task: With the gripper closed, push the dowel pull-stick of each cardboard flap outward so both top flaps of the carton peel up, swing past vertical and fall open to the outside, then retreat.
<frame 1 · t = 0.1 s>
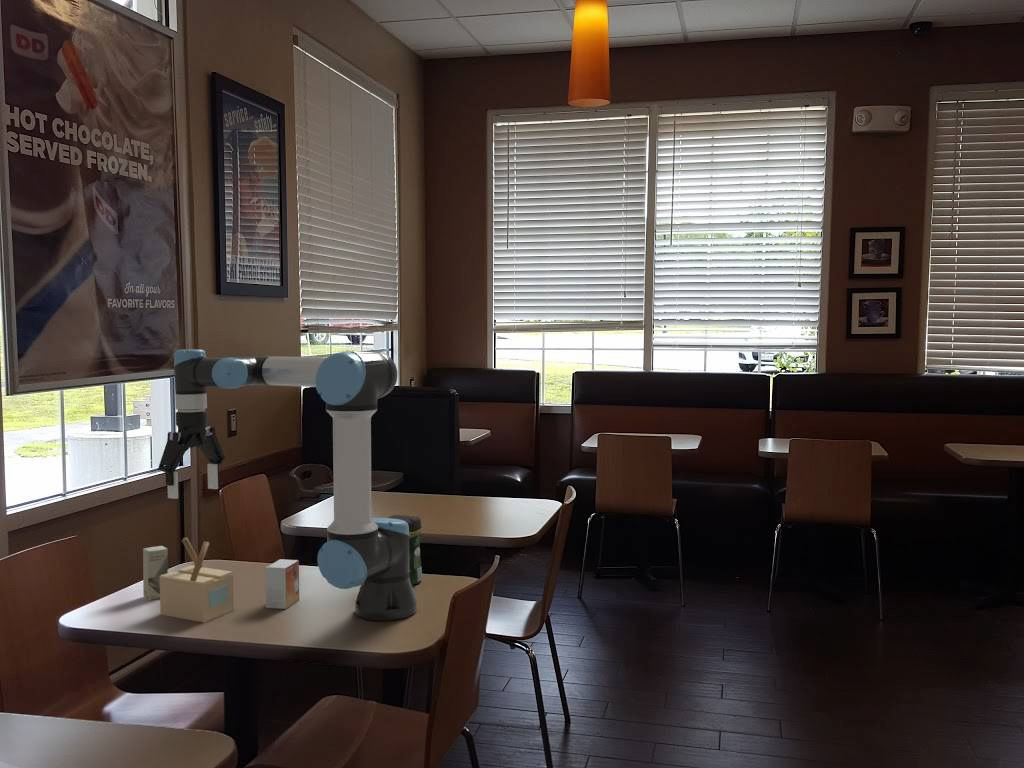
hand: (193, 493, 222), 28 cm above the table, fingers open, 13 cm apart
left flap: (188, 560, 212), point 14 cm above the table, hinge at -0.2°
small box: (283, 604, 222), on the table
box: (156, 597, 228), on the table
right flap: (202, 555, 216), point 14 cm above the table, hinge at -0.2°
coffee jar: (404, 582, 241), on the table
carton: (197, 612, 215), on the table
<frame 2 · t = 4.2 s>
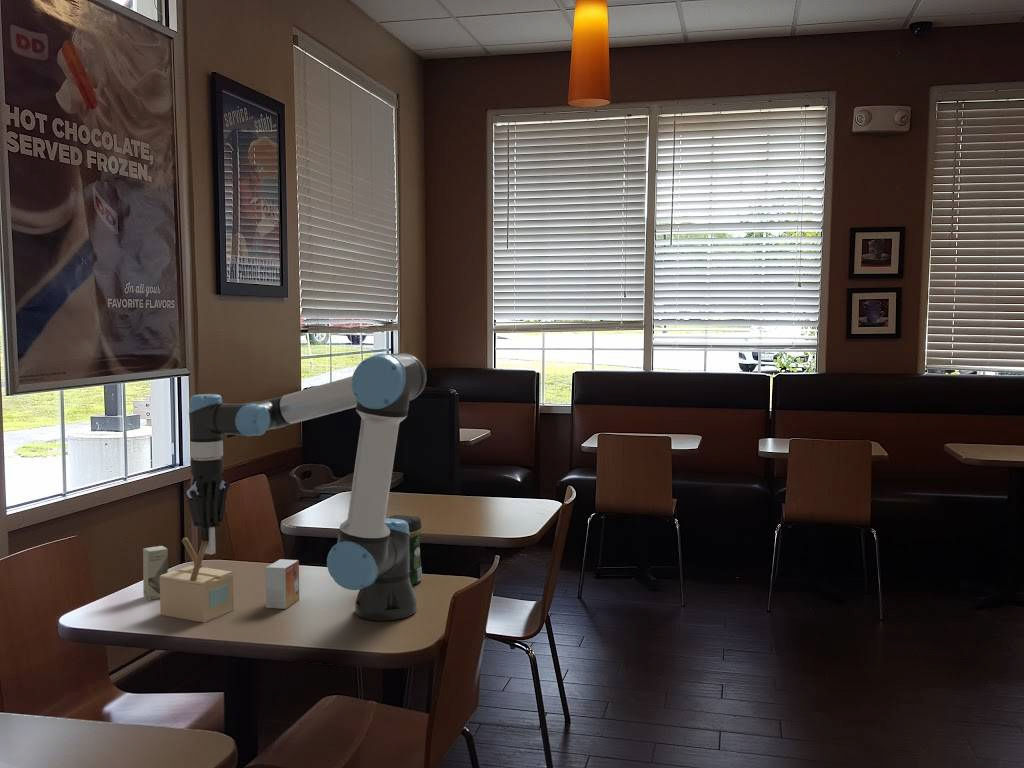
hand: (209, 553, 214), 15 cm above the table, fingers closed
left flap: (188, 559, 212), point 14 cm above the table, hinge at 3.0°, touching gripper
everything else where it was.
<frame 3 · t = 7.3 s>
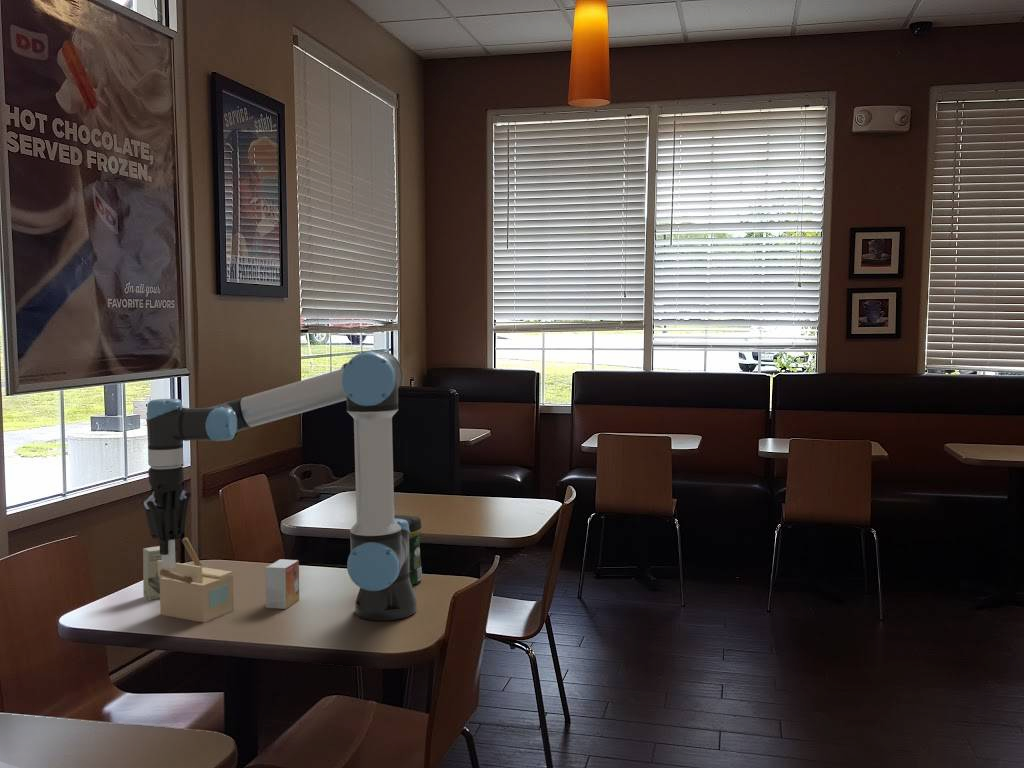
hand: (168, 567, 202), 15 cm above the table, fingers closed
left flap: (165, 574, 206), point 12 cm above the table, hinge at 93.2°
everything else where it was.
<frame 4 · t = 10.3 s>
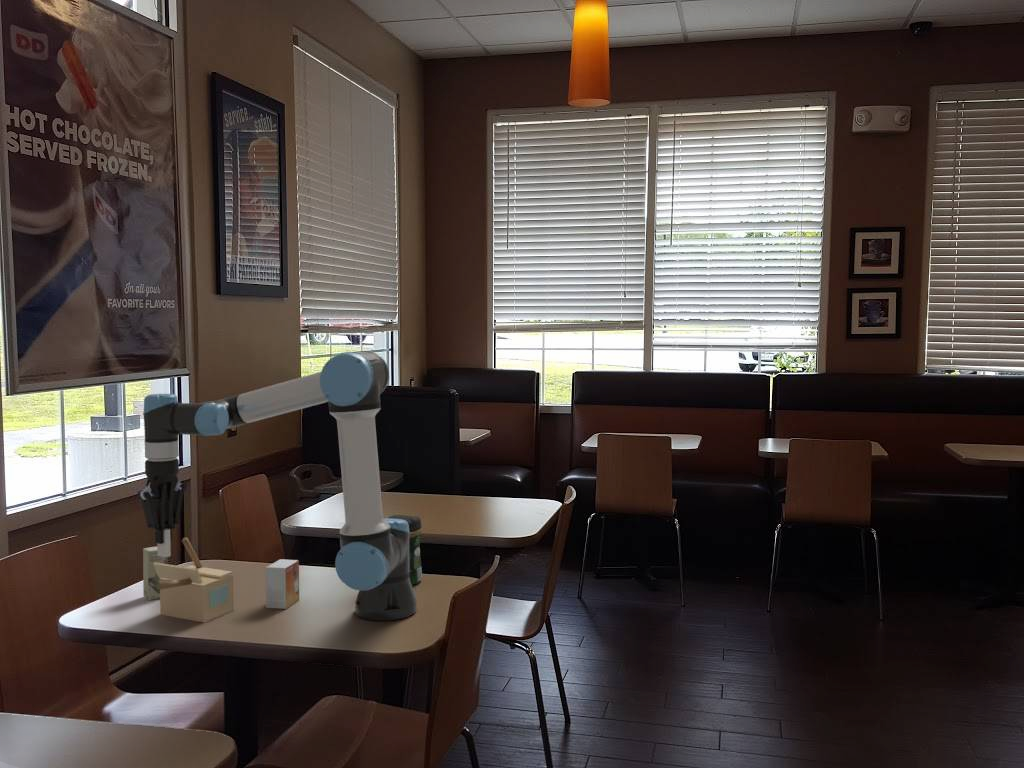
hand: (164, 555, 210), 15 cm above the table, fingers closed
left flap: (163, 581, 205), point 10 cm above the table, hinge at 112.0°
everything else where it was.
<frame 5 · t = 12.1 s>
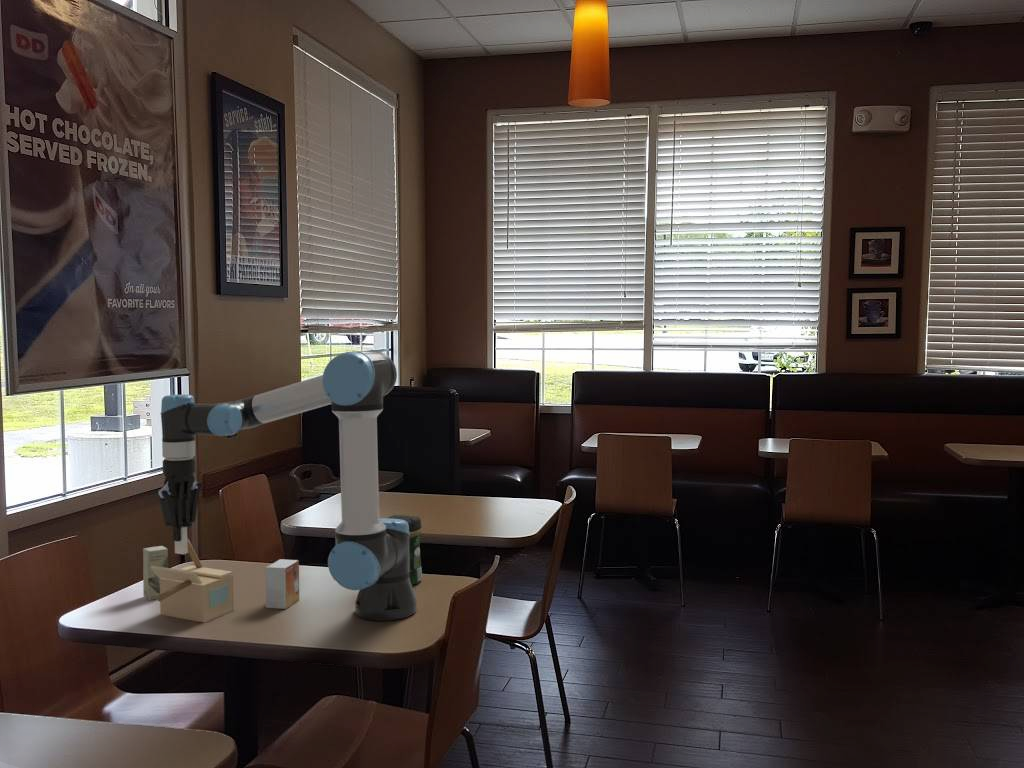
hand: (181, 553, 214), 15 cm above the table, fingers closed
left flap: (163, 587, 205), point 9 cm above the table, hinge at 127.7°
right flap: (203, 555, 216), point 14 cm above the table, hinge at 0.7°, touching gripper
everything else where it was.
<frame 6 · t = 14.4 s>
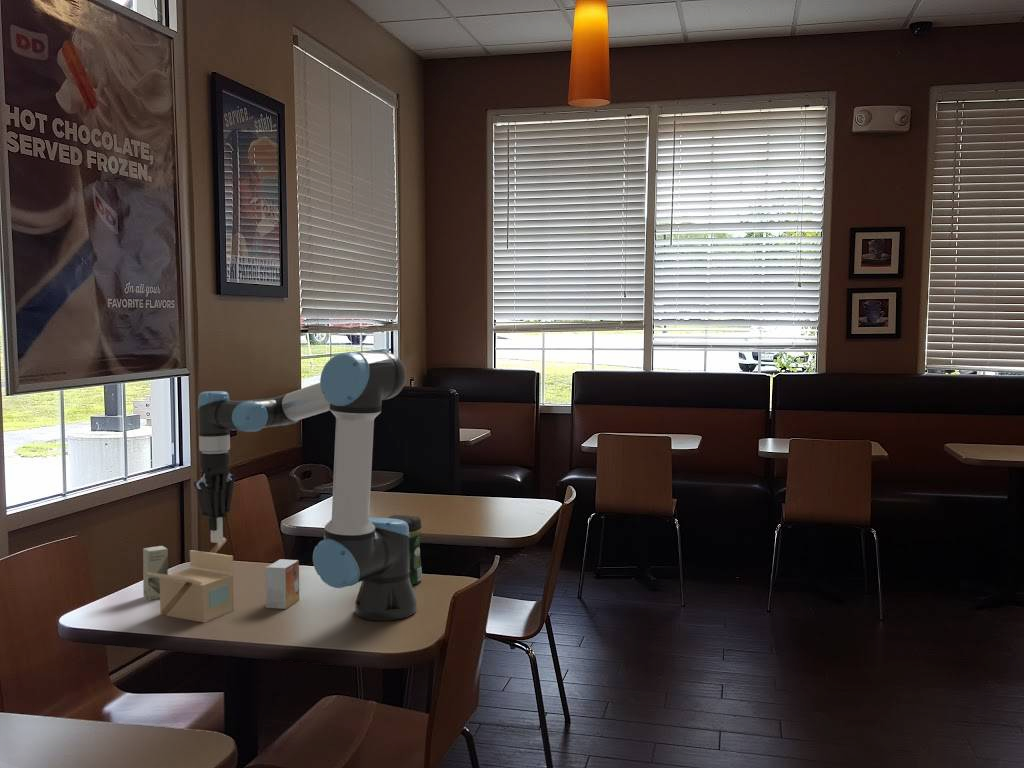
hand: (216, 541, 226), 15 cm above the table, fingers closed
left flap: (165, 595, 206), point 7 cm above the table, hinge at 151.2°
right flap: (223, 553, 223), point 12 cm above the table, hinge at 88.3°, touching gripper
everything else where it was.
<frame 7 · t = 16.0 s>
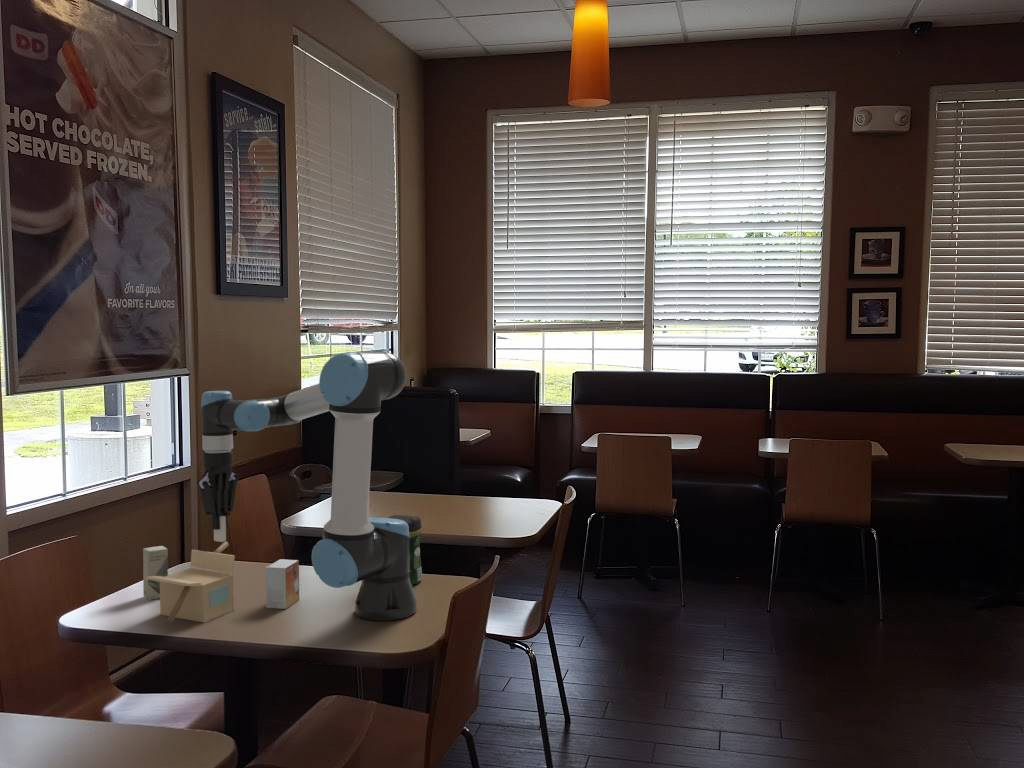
hand: (220, 540, 227), 15 cm above the table, fingers closed
left flap: (168, 599, 207), point 6 cm above the table, hinge at 167.8°
right flap: (224, 556, 223), point 12 cm above the table, hinge at 97.3°
everything else where it was.
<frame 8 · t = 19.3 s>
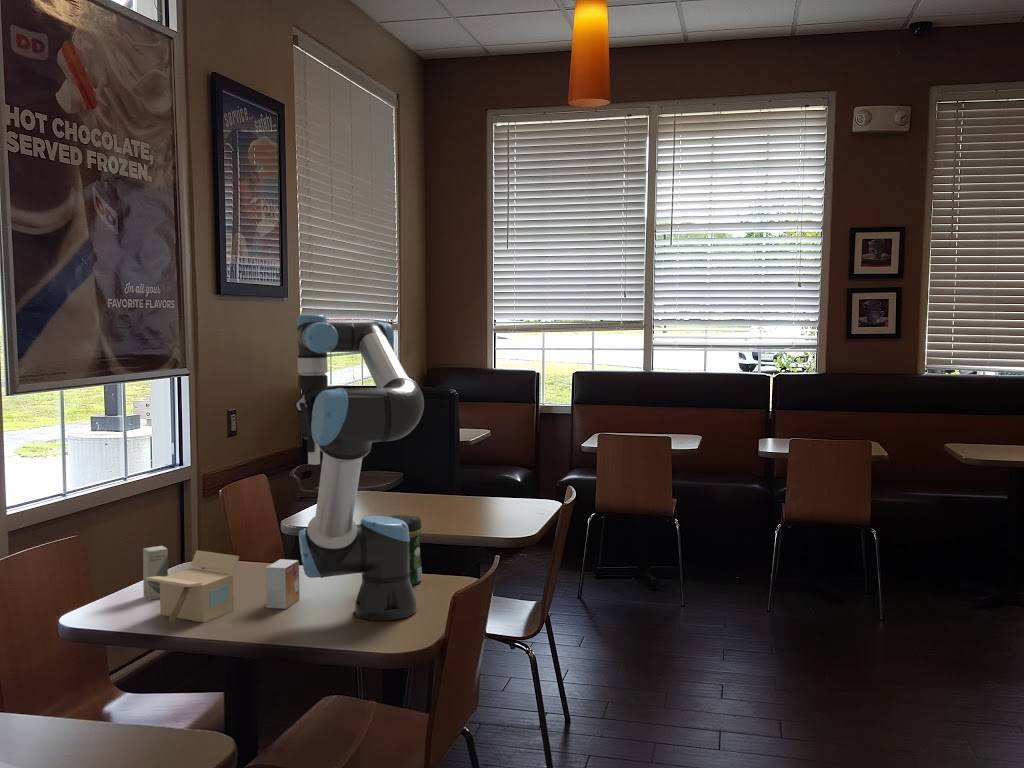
hand: (314, 463, 229), 34 cm above the table, fingers closed
left flap: (169, 599, 207), point 6 cm above the table, hinge at 170.2°
right flap: (226, 563, 224), point 10 cm above the table, hinge at 121.3°
everything else where it was.
at the end: left flap at +170° (first picture: +0°); right flap at +123° (first picture: +0°) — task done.
